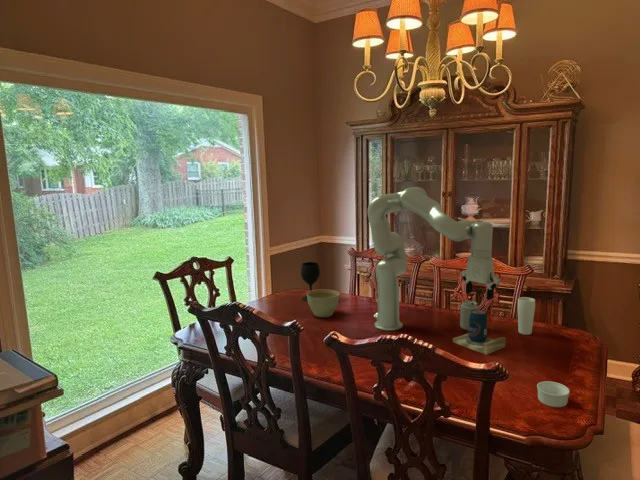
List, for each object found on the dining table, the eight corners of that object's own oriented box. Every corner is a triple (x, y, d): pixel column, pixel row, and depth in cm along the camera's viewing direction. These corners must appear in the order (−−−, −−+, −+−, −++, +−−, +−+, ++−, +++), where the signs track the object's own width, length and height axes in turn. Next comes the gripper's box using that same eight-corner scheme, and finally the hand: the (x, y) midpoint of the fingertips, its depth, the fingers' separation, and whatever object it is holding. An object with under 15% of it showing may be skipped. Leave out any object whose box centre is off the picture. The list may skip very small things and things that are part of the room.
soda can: (465, 340, 182) (465, 311, 180) (474, 335, 187) (475, 307, 185) (480, 344, 177) (481, 315, 175) (489, 340, 182) (490, 311, 180)
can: (479, 331, 196) (479, 305, 194) (461, 331, 197) (461, 304, 195) (476, 325, 203) (477, 300, 201) (459, 325, 204) (459, 299, 202)
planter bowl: (337, 320, 215) (337, 298, 213) (304, 319, 218) (303, 297, 216) (341, 309, 231) (341, 289, 229) (310, 309, 233) (309, 288, 231)
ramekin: (570, 411, 132) (571, 397, 131) (537, 405, 136) (537, 392, 135) (567, 396, 140) (567, 383, 140) (535, 392, 144) (536, 379, 143)
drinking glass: (533, 331, 194) (535, 297, 192) (533, 336, 188) (535, 302, 186) (516, 329, 197) (518, 296, 195) (516, 334, 191) (517, 300, 189)
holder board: (452, 342, 185) (452, 333, 185) (471, 335, 192) (471, 326, 191) (486, 354, 172) (486, 345, 171) (505, 347, 179) (505, 337, 178)
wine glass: (300, 301, 248) (298, 265, 244) (303, 295, 258) (302, 261, 254) (318, 301, 246) (317, 265, 243) (321, 296, 256) (320, 261, 253)
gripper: (456, 251, 181) (455, 292, 184) (494, 258, 167) (492, 302, 170) (469, 249, 185) (467, 289, 188) (506, 256, 171) (504, 299, 174)
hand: (479, 295), depth 179 cm, fingers open, 9 cm apart
